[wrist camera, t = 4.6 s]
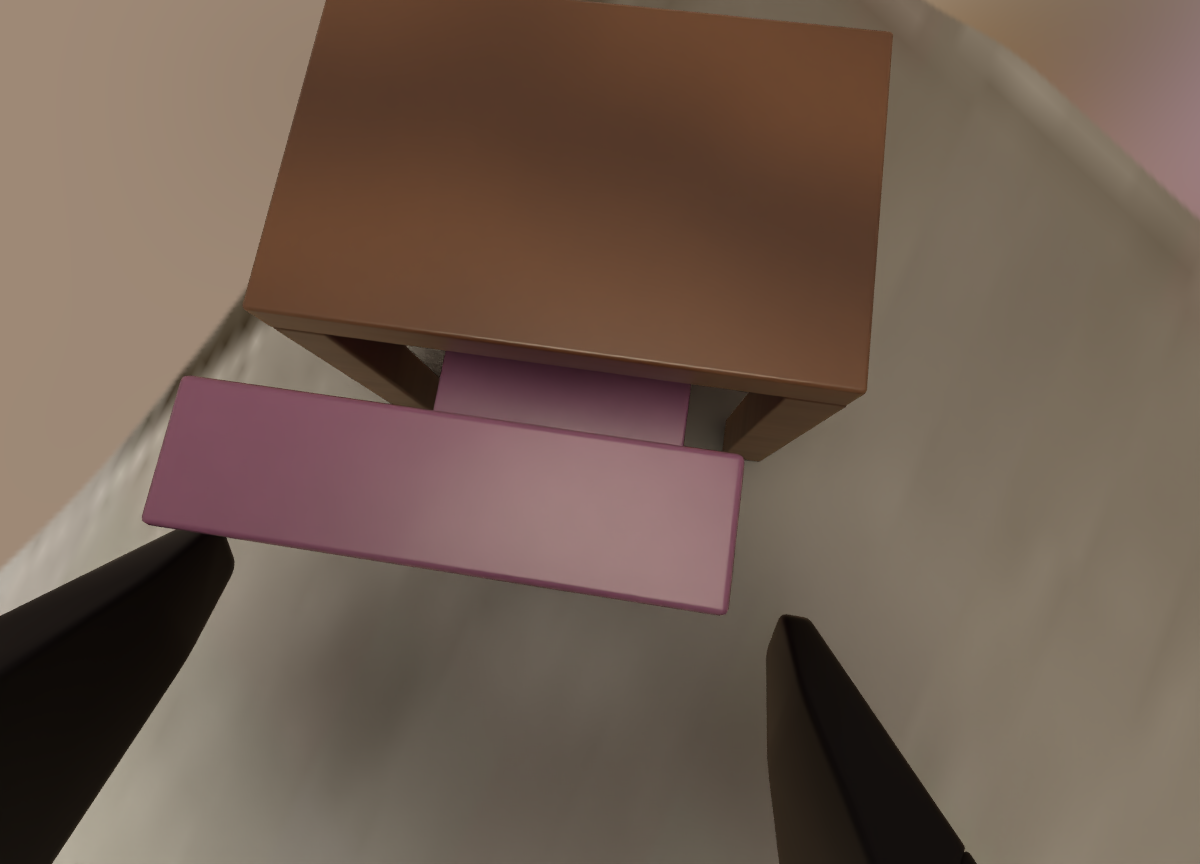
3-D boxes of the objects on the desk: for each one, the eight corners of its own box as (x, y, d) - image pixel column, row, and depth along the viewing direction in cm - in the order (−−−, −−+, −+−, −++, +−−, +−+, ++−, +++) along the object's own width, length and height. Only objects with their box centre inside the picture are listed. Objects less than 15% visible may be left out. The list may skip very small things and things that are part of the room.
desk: (759, 461, 19) (868, 393, 11) (399, 410, 20) (239, 308, 11) (783, 241, 21) (894, 30, 12) (444, 200, 21) (330, -27, 13)
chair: (654, 571, 19) (729, 618, 6) (461, 541, 19) (135, 522, 6) (679, 382, 20) (788, 74, 7) (496, 356, 20) (280, 20, 7)
